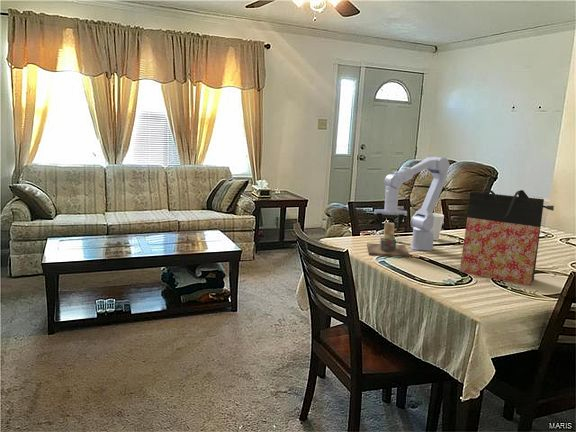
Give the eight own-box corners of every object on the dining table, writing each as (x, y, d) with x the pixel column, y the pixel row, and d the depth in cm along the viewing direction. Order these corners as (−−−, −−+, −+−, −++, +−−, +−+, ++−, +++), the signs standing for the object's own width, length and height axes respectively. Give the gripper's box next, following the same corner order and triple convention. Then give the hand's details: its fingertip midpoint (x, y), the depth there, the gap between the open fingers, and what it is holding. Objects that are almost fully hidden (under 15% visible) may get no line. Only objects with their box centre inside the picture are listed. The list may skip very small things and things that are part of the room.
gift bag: (457, 273, 185) (467, 186, 178) (466, 265, 196) (475, 183, 190) (540, 289, 169) (554, 194, 162) (544, 280, 180) (557, 190, 174)
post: (392, 240, 216) (393, 222, 214) (393, 242, 212) (394, 224, 210) (383, 240, 216) (384, 222, 215) (384, 242, 212) (385, 224, 211)
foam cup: (437, 242, 236) (440, 217, 234) (420, 239, 242) (422, 214, 239) (443, 239, 244) (446, 214, 241) (426, 236, 249) (429, 212, 247)
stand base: (404, 247, 223) (405, 236, 222) (410, 257, 205) (411, 245, 204) (366, 245, 225) (367, 234, 224) (368, 254, 207) (369, 242, 206)
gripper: (375, 201, 207) (373, 231, 210) (408, 203, 206) (406, 233, 209) (374, 199, 214) (372, 227, 217) (406, 200, 213) (404, 229, 215)
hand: (389, 230), depth 213 cm, fingers open, 7 cm apart
